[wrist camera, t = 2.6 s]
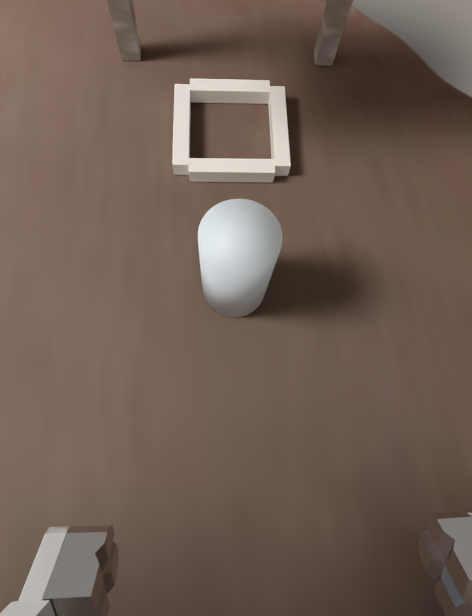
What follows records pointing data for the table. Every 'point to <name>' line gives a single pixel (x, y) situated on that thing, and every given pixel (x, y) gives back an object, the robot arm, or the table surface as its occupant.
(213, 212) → the canister
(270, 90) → the white square frame
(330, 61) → the overhang shelf
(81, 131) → the table surface
